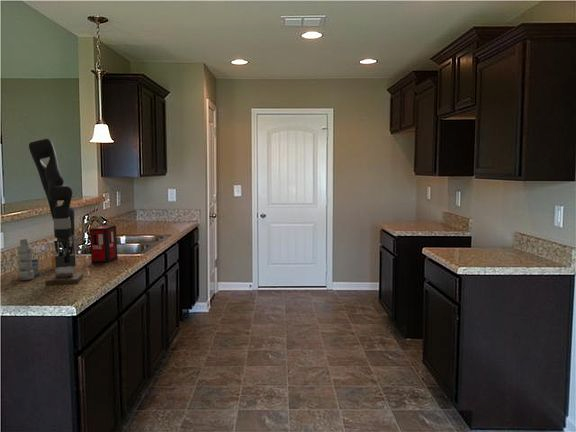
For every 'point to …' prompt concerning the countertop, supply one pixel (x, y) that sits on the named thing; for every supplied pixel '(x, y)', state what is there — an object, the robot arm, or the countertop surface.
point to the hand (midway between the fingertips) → (64, 262)
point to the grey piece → (63, 266)
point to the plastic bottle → (25, 260)
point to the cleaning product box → (103, 244)
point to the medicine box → (35, 267)
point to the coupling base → (64, 279)
